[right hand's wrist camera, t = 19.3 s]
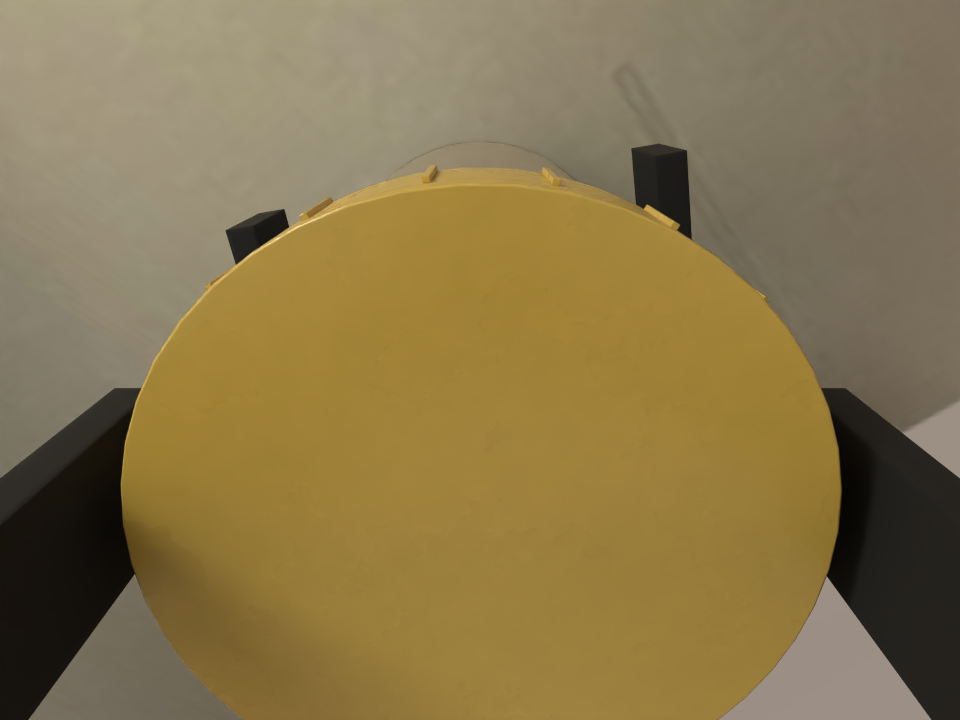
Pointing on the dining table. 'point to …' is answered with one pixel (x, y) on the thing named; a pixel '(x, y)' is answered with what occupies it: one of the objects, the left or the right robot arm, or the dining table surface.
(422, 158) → the jar
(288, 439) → the lid
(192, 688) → the dining table surface
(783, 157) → the dining table surface
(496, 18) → the dining table surface
